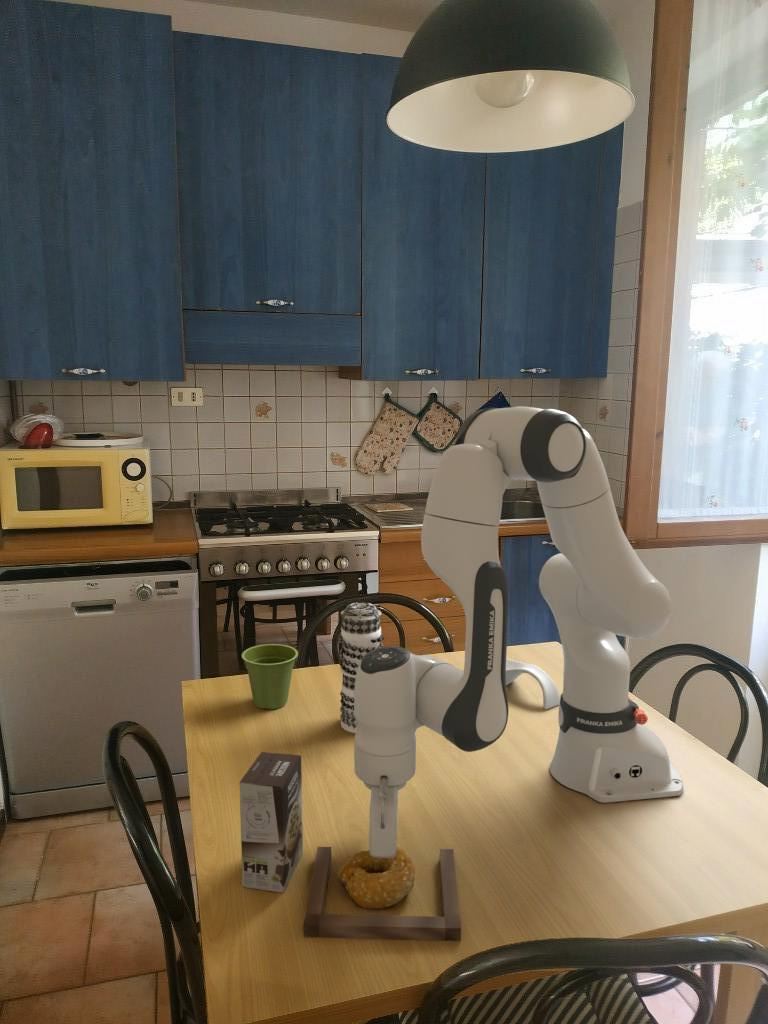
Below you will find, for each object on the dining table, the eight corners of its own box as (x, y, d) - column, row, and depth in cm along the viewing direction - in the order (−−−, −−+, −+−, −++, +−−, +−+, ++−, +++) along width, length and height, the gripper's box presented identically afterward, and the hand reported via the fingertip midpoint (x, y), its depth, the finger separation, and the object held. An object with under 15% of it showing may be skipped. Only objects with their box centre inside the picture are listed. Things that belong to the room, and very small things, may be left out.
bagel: (361, 854, 114) (361, 826, 113) (427, 880, 108) (428, 850, 107) (323, 894, 105) (323, 864, 104) (393, 924, 100) (393, 893, 99)
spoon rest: (458, 679, 178) (458, 650, 176) (493, 667, 185) (494, 639, 183) (535, 716, 159) (537, 683, 158) (572, 701, 166) (573, 670, 165)
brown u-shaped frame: (453, 860, 112) (453, 849, 112) (460, 940, 97) (461, 928, 96) (317, 857, 113) (317, 846, 113) (303, 937, 97) (303, 924, 97)
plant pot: (276, 720, 157) (274, 668, 154) (231, 707, 162) (229, 657, 160) (309, 698, 167) (308, 649, 164) (266, 687, 172) (265, 639, 170)
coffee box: (285, 894, 105) (282, 787, 102) (241, 887, 106) (237, 782, 103) (305, 853, 114) (303, 753, 111) (264, 847, 115) (261, 749, 112)
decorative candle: (374, 710, 161) (374, 596, 156) (391, 729, 153) (391, 610, 148) (333, 717, 158) (331, 601, 153) (347, 737, 149) (346, 615, 144)
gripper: (406, 801, 99) (405, 894, 102) (407, 727, 119) (406, 807, 122) (358, 800, 100) (358, 893, 102) (366, 726, 120) (367, 806, 122)
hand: (384, 846), depth 112 cm, fingers closed
